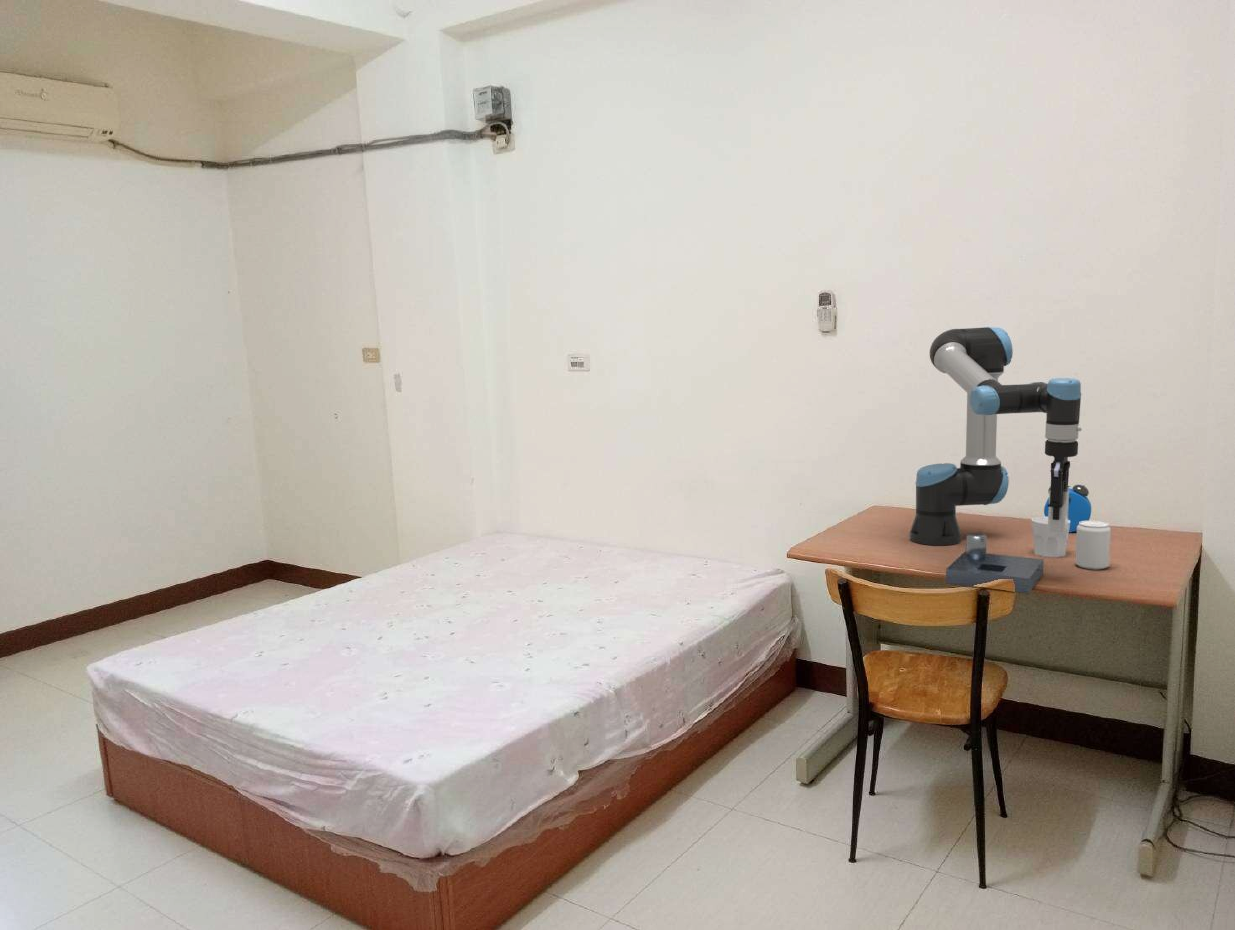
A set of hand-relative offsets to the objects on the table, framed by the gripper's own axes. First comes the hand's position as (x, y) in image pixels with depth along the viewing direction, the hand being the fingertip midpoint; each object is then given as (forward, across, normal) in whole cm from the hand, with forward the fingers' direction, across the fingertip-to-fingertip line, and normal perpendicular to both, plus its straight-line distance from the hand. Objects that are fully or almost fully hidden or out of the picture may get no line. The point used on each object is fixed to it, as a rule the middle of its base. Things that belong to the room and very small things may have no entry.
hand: (1057, 529), depth 233 cm
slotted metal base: (+14, -6, +14) cm, 20 cm away
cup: (+14, +26, +6) cm, 31 cm away
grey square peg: (+2, 0, 0) cm, 2 cm away
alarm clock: (+15, +57, +6) cm, 60 cm away
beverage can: (+14, +17, -6) cm, 23 cm away
